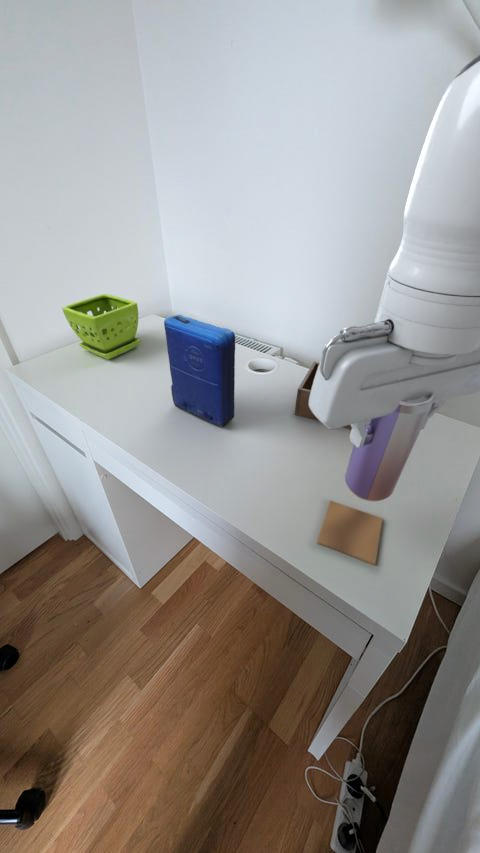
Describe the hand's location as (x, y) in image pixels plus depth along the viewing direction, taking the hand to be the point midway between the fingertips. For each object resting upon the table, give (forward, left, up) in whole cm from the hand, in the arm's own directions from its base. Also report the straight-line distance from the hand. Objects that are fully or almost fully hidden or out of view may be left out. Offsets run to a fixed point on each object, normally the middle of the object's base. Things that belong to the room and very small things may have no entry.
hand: (386, 434), depth 38 cm
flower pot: (+72, -31, -19) cm, 81 cm away
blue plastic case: (+34, -16, -19) cm, 42 cm away
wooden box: (+10, -30, -19) cm, 37 cm away
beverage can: (0, 0, -9) cm, 9 cm away
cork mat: (0, 0, -19) cm, 19 cm away
